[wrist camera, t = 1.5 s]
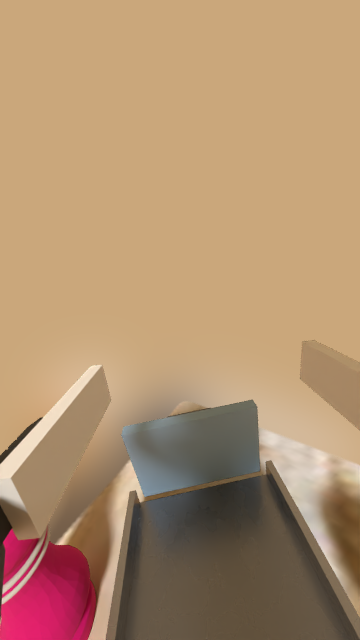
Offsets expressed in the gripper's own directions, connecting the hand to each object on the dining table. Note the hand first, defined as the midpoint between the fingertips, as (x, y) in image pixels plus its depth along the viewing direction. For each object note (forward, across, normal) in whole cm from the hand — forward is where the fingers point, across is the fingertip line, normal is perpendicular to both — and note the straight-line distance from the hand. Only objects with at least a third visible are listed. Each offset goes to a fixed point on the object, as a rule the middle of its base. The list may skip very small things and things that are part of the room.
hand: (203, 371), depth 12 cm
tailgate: (+9, -1, -23) cm, 25 cm away
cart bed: (+1, 0, -27) cm, 27 cm away
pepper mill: (0, -17, -29) cm, 34 cm away
